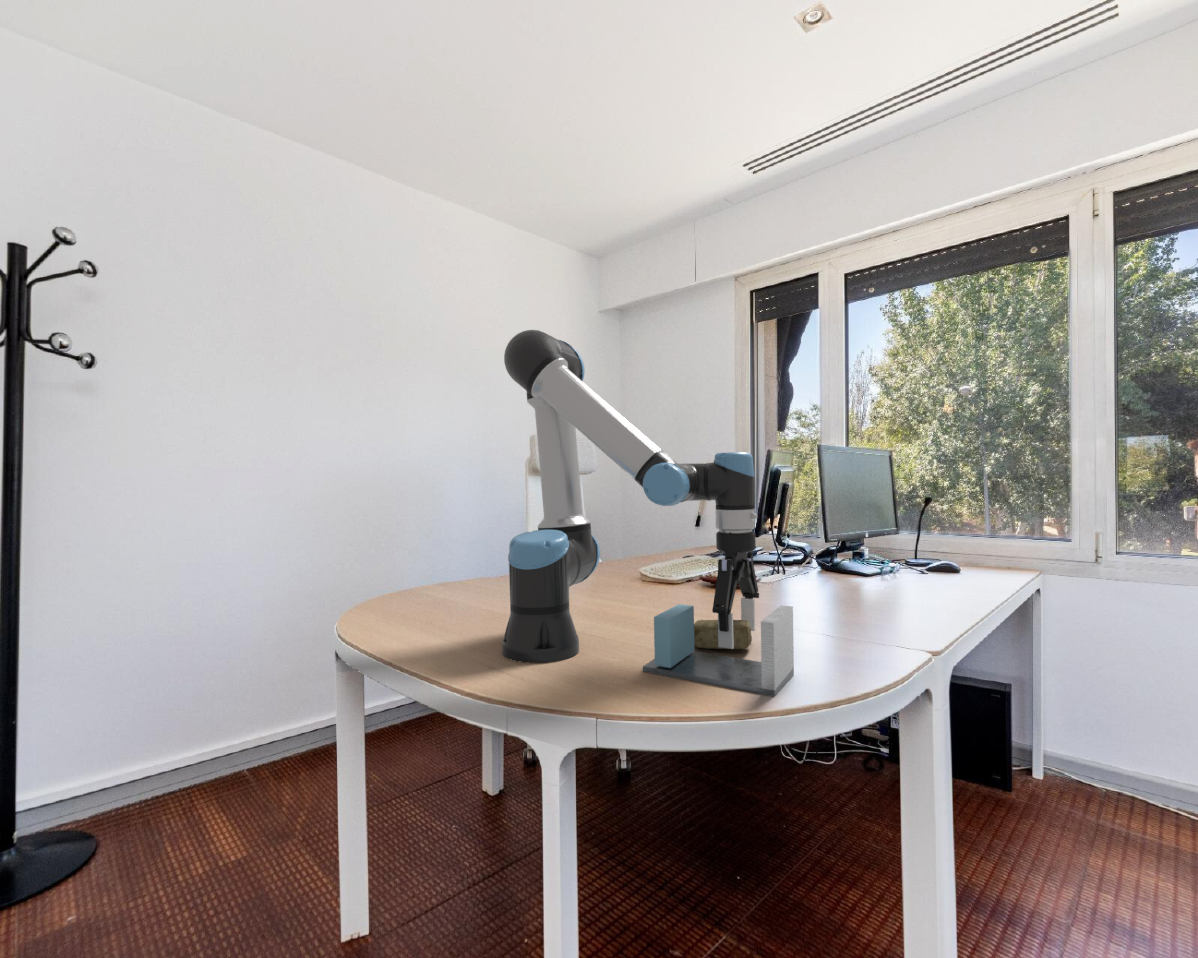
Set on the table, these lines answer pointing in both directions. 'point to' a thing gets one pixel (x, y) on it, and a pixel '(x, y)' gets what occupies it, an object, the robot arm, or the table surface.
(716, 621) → the stone block
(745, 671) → the vise bed
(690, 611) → the sliding jaw
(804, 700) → the table surface
